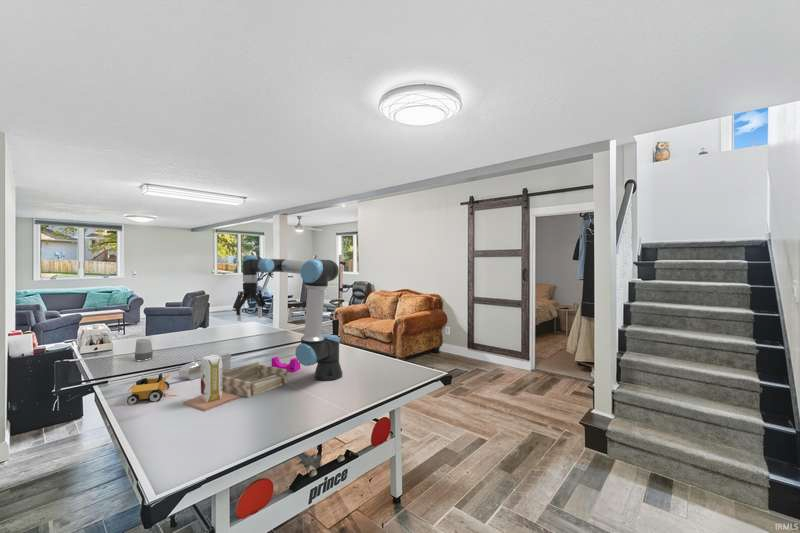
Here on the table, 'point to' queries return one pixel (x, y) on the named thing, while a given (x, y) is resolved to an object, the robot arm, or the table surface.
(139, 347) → the smart speaker
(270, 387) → the offcut stack
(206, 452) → the table surface
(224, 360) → the teacup
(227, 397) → the pad
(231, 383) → the birch rack
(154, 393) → the yellow toy car
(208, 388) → the juice carton
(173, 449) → the table surface
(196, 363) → the vr headset
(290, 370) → the toy block
